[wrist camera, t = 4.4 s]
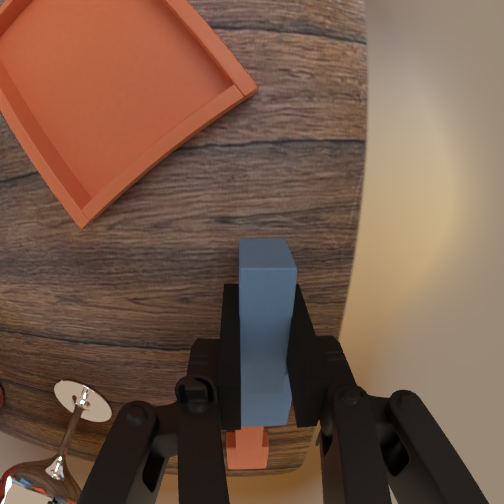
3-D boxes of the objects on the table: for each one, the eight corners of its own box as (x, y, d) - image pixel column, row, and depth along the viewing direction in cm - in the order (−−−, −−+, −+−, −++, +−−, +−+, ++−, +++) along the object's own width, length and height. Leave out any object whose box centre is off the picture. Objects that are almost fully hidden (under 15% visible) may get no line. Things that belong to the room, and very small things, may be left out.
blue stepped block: (220, 237, 14) (215, 267, 11) (304, 238, 14) (321, 268, 11) (225, 404, 19) (225, 441, 16) (283, 403, 19) (289, 439, 16)
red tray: (110, -66, 9) (99, -81, 6) (255, 93, 15) (259, 87, 12) (-11, 49, 11) (-31, 46, 9) (98, 216, 17) (80, 230, 14)
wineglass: (53, 408, 24) (5, 539, 8) (42, 360, 21) (-34, 518, 5) (120, 433, 26) (91, 577, 9) (120, 390, 23) (74, 576, 6)
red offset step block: (223, 387, 23) (222, 418, 20) (272, 386, 23) (276, 416, 20) (228, 454, 28) (228, 478, 25) (264, 453, 28) (266, 477, 25)
